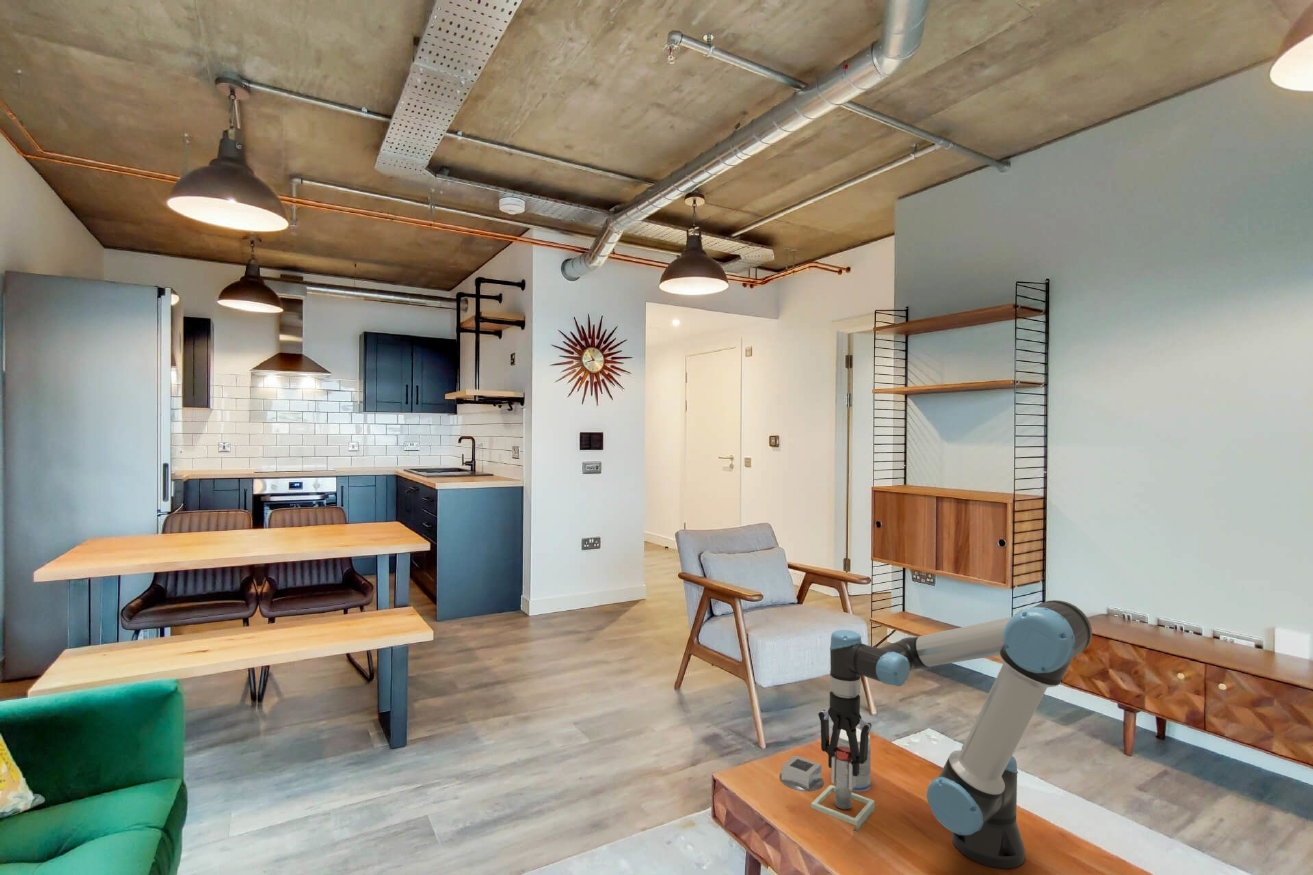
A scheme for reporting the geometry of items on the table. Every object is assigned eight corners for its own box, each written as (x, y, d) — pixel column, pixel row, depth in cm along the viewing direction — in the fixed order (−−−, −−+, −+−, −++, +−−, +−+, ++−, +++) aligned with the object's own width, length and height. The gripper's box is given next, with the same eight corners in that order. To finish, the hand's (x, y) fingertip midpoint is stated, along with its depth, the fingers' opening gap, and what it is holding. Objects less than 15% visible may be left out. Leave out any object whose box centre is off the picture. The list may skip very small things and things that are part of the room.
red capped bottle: (853, 804, 165) (854, 749, 165) (847, 810, 162) (848, 755, 162) (838, 798, 167) (839, 744, 168) (832, 805, 164) (833, 750, 164)
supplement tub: (876, 788, 176) (877, 734, 176) (859, 801, 170) (860, 745, 170) (844, 774, 183) (845, 722, 183) (827, 786, 177) (828, 732, 177)
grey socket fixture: (831, 783, 178) (831, 763, 178) (812, 802, 169) (812, 781, 169) (791, 769, 186) (791, 750, 186) (771, 786, 176) (771, 766, 176)
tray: (874, 810, 166) (874, 800, 166) (856, 831, 156) (856, 821, 156) (830, 793, 173) (830, 784, 173) (810, 813, 164) (811, 803, 164)
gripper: (883, 696, 162) (881, 789, 162) (820, 680, 173) (818, 767, 173) (872, 705, 157) (870, 802, 156) (807, 688, 167) (806, 778, 167)
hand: (843, 783), depth 165 cm, fingers closed on red capped bottle, 4 cm apart
